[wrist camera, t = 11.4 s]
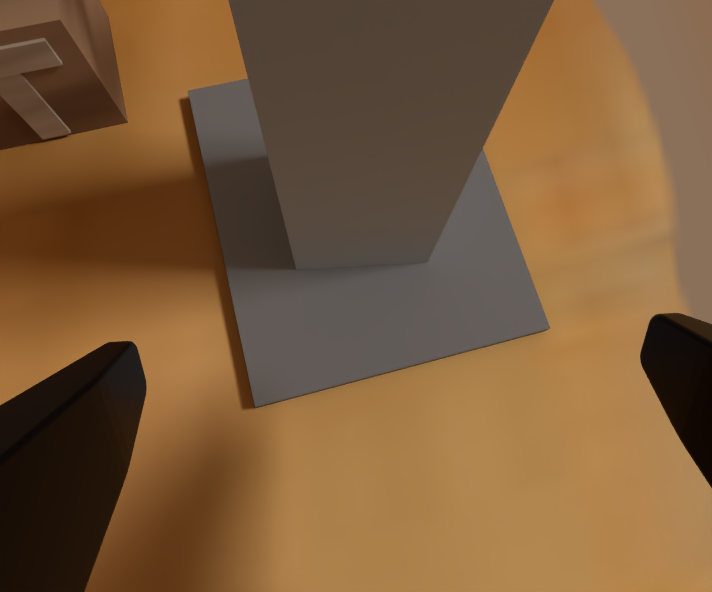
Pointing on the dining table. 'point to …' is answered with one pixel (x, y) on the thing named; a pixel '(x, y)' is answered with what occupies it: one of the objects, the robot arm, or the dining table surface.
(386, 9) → the slate block
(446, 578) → the dining table surface
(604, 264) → the dining table surface
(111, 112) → the walnut cube
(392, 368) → the coaster
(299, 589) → the dining table surface
